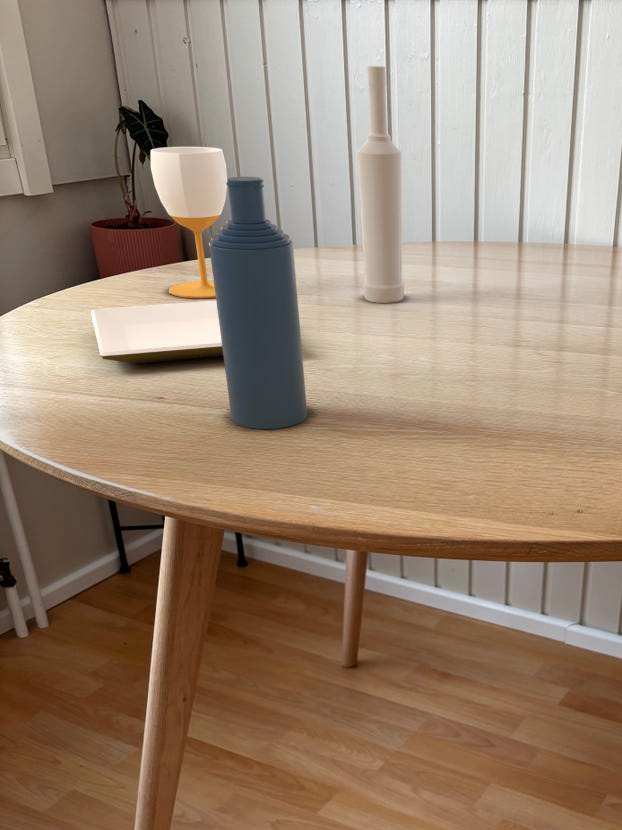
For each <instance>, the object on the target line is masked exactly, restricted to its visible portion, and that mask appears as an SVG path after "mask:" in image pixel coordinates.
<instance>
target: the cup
mask: <svg viewBox="0 0 622 830" xmlns="http://www.w3.org/2000/svg"><path fill="white" fill-rule="evenodd" d="M150 171H151V176H152V179H153V184H154V189H155V190H156V193H157V195H158V198H159V201H160V203H161V204H162V206H163V207H164V210H165V211H166V213H167V215H169V216H170V217H171V218H172V219H173V220H174V221H175V222H176V223H178V225H180V226H182V227H184V228H186V229H189V230H190V231H191V232H193V234H194V240H195V248H196V255H197V262H198V270H199V276H200V280H196V281H186V282H182V283H177V284H175V285H173V286H170V287H168V288H169V289H168V293H169V294H170V295H173V296H174V297H179V298H184V299H216V295H215V287H214V280H208V273H207V267H206V259H205V252H204V244H203V237H202V236H203V235H202V233H203V231H204V230H205V229H207V228H208V227H210V226H212V225H214V224H215V222H216V221H217V220H218V218H219V217H220V216H221V215H222V213H223V210H224V206H225V203H226V199H227V192H228V186H227V185H226V183H227V179H228V172H227V171H228V170H227V163H226V159H225V155H224V150H223V149H222V148H218V147H209V146H166V147H165V146H164V147H157V148H152V149H150Z"/></svg>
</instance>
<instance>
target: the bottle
mask: <svg viewBox="0 0 622 830" xmlns="http://www.w3.org/2000/svg"><path fill="white" fill-rule="evenodd" d="M366 72H367V73H366V74H367V75H366V76H367V87H368V109H369V110H368V111H369V112H368V113H369V114H368V116H369V133H368V134H367V135H366V140H365V142H364V143H363V144H362V145H361V146H360V148H358V149H357V151H356V157H357V158H356V159H357V175H358V176H357V177H358V190H359V204H360V205H359V206H360V220H361V223H360V224H361V236H362V238H361V239H362V252H363V268H364V270H363V271H364V281H363V284H362V289H363V296H364V298H365V300H366V301H368V302H371V303H377V304H390V303H392V304H393V303H397V302H400V301H402V300H404V295H405V282H404V281H403V216H402V215H403V204H402V203H403V200H402V199H403V197H402V196H403V195H402V194H403V193H402V189H403V188H402V185H403V184H402V183H403V182H402V181H403V180H402V177H403V175H402V150H400V149H399V148H398V147H397V145H395V143H394V142H393V141H392V140H391V135H390V134H389V133H388V119H387V116H388V115H387V91H386V87H387V72H386V66H382V65H378V66H377V65H367V66H366Z"/></svg>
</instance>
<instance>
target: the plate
mask: <svg viewBox="0 0 622 830" xmlns="http://www.w3.org/2000/svg"><path fill="white" fill-rule="evenodd" d="M90 315H91V321H92V325H93V328H94V335H95V339H96V343H97V347H98V351H99V352H98V353H99V356H100V357H101V358H102V359H103V360H107V361H113V362H114V361H115V362H122V363H129V364H142V363H143V364H144V363H146V364H147V363H157V362H168V361H169V362H170V361H179V360H180V361H181V360H192V359H203V358H213V357H215V358H216V357H223V349H222V341H221V333H220V326H219V318H218V310H217V302H216V300H206V301H204V300H203V301H202V300H201V301H190V302H189V301H188V302H174V303H160V304H159V303H157V304H145V305H144V304H143V305H130V306H117V307H104V308H103V307H101V308H94V309H92V310H91V311H90Z"/></svg>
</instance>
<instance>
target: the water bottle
mask: <svg viewBox="0 0 622 830" xmlns="http://www.w3.org/2000/svg"><path fill="white" fill-rule="evenodd" d="M263 183H264V179H263V178H261V177H259V176H258V177H257V176H232V177H227V183H226V185H227V192H228V193H227V194H228V202H229V210H230V220H227V221H226V224H225V225H223V226H222V227H221V229H220V230H218V231H217V232H216V234H215V235H213V236H211V238H210V240H211V241H210V242H209V243H208V246H209V247H208V248H209V255H210V264H211V270H212V277H213V281H214V287H215V295H216V298H215V301H216V302H217V310H218V318H219V326H220V333H221V341H222V349H223V356H222V357H223V363H224V364H223V365H224V370H225V371H224V372H225V379H226V388H227V395H228V403H229V411H230V417H231V421H232V422H233V423H234V424H235V425H237V426H240V427H243V428H248V429H254V430H255V429H256V430H273V429H274V430H275V429H282V428H287V427H291V426H295V425H298V424H300V423H302V422H303V421H305V420H306V419H307V417H308V407H307V395H306V383H305V373H304V372H305V371H304V359H303V347H302V336H301V324H300V323H301V322H300V311H299V299H298V298H299V297H298V288H297V276H296V264H295V253H294V241H292V239H290V235H288V234H286V233H284V231H283V230H282V229H280V228H278V226H277V225H276V224H273V223H272V221H271V220H269V219H267V216H266V215H267V214H266V206H265V197H264V188H265V184H263Z"/></svg>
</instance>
